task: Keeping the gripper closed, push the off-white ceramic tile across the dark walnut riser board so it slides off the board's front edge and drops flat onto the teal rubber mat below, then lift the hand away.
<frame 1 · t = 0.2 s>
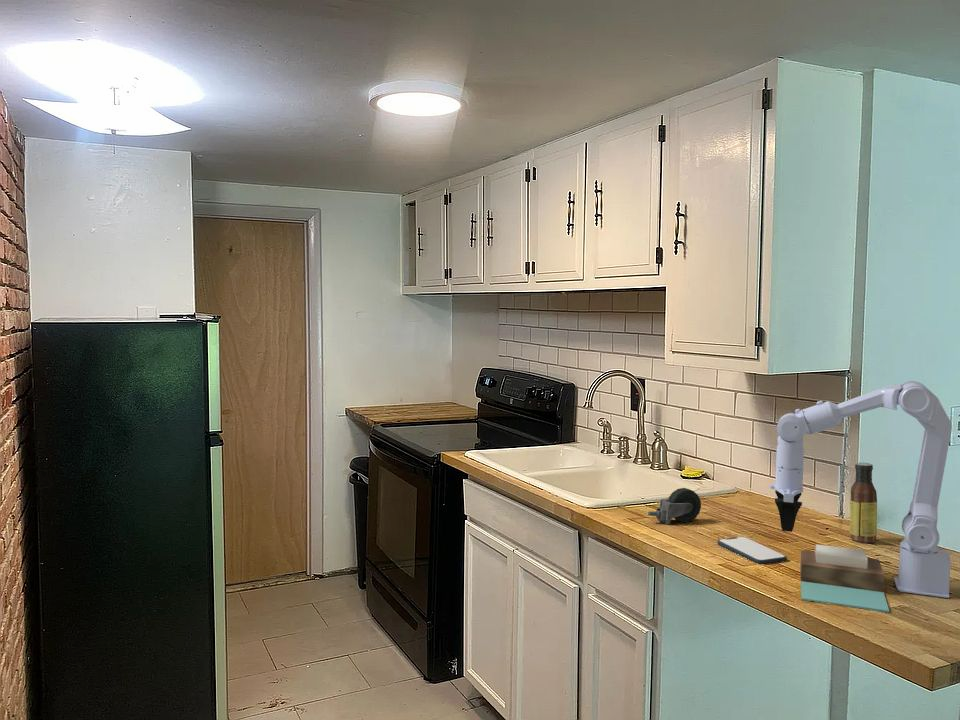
hand: (787, 526, 177), 10 cm above the counter, tool pointing down, fingers open, 7 cm apart
phone case: (750, 554, 190), on the counter
sauce bottle: (861, 541, 201), on the counter
mat: (842, 597, 162), on the counter
riser: (839, 579, 172), on the counter
caster wheel: (673, 522, 215), on the counter
tile: (840, 560, 173), point 4 cm above the counter, touching riser
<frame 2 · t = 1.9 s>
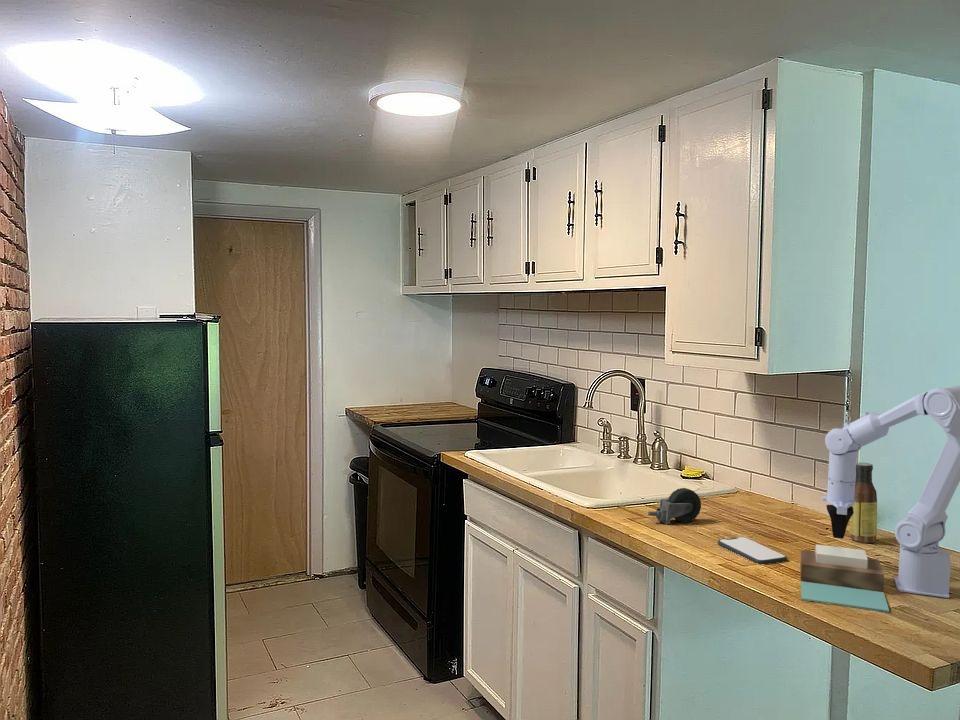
hand: (838, 537, 182), 6 cm above the counter, tool pointing down, fingers closed
nothing on the counter moved.
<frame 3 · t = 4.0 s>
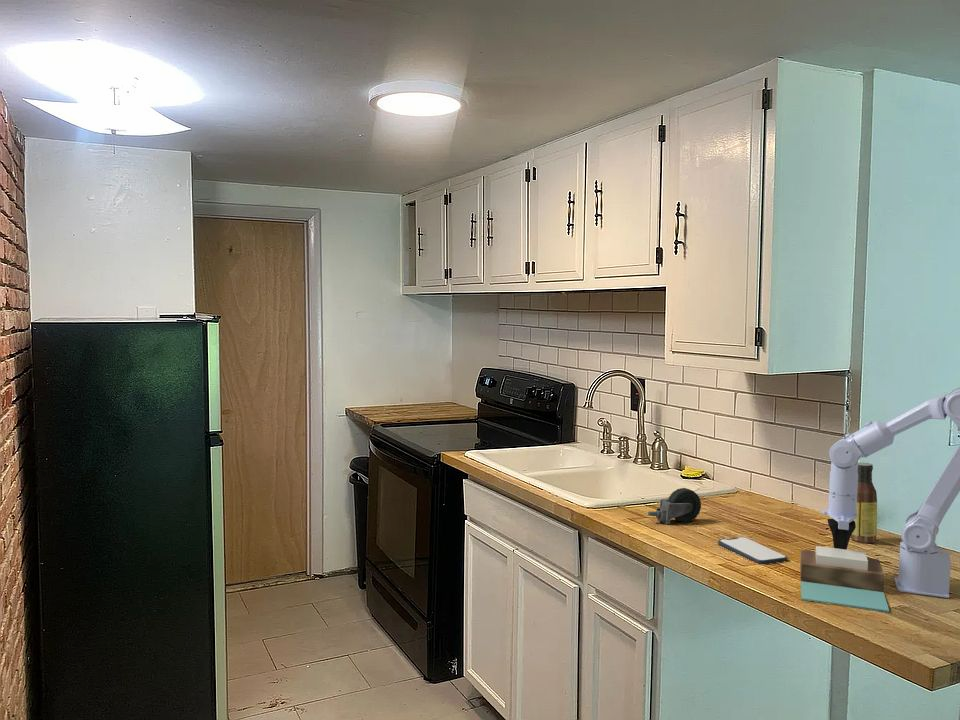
hand: (839, 552, 176), 5 cm above the counter, tool pointing down, fingers closed
tile: (840, 562, 172), point 4 cm above the counter
everything else where it was.
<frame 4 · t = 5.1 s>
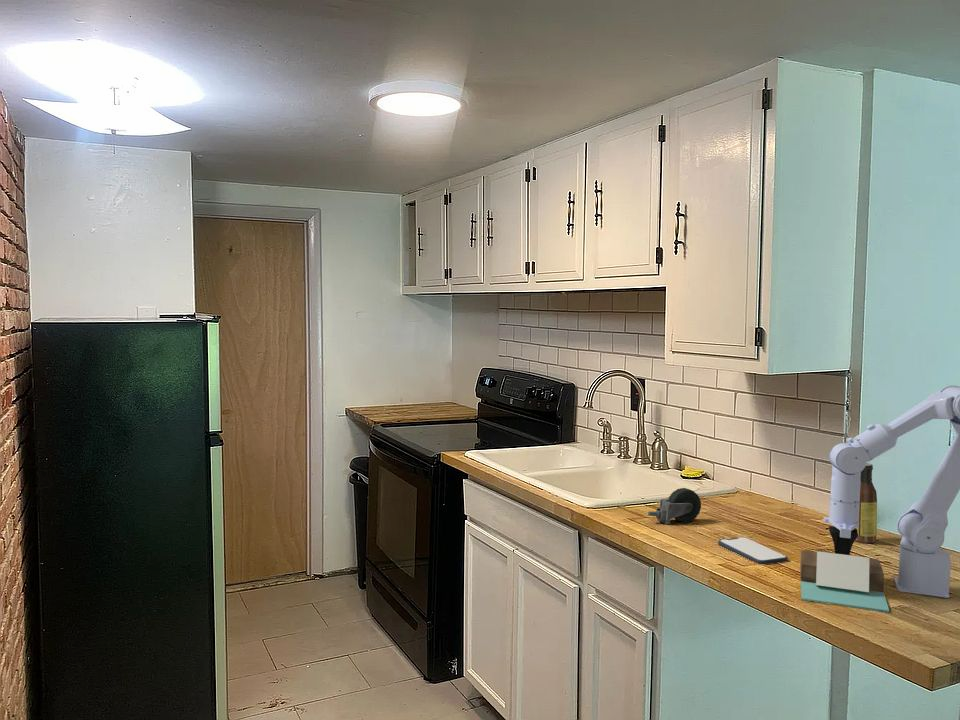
hand: (841, 561, 170), 5 cm above the counter, tool pointing down, fingers closed
tile: (842, 572, 166), point 4 cm above the counter, tilted 65°, touching mat
everything else where it was.
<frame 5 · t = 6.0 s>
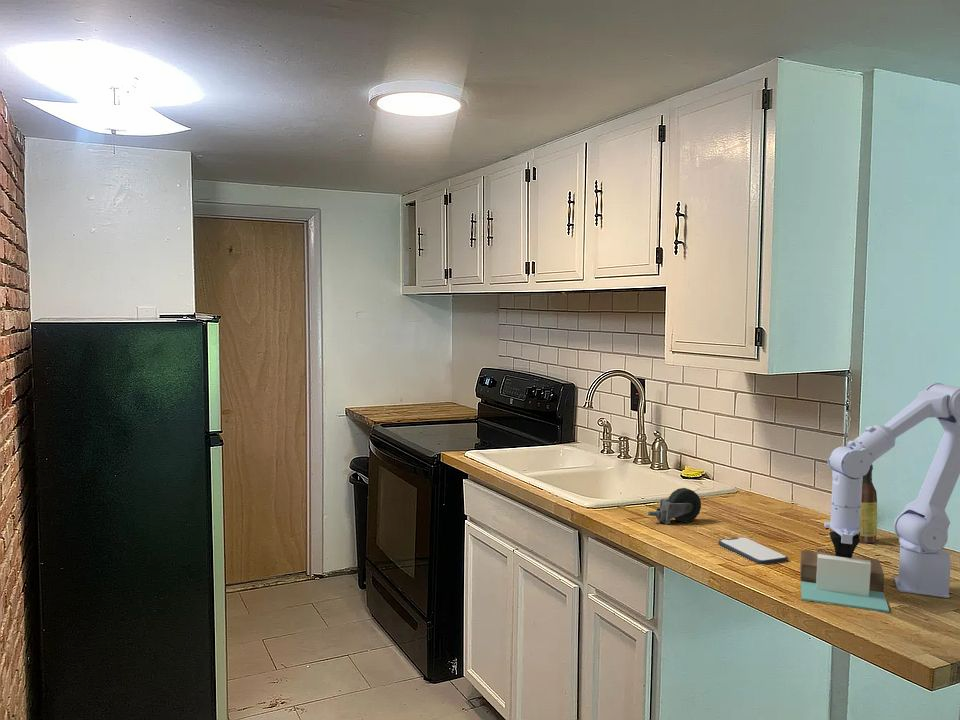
hand: (842, 567, 166), 5 cm above the counter, tool pointing down, fingers closed
tile: (842, 572, 165), point 4 cm above the counter, tilted 95°, touching gripper, mat
everything else where it was.
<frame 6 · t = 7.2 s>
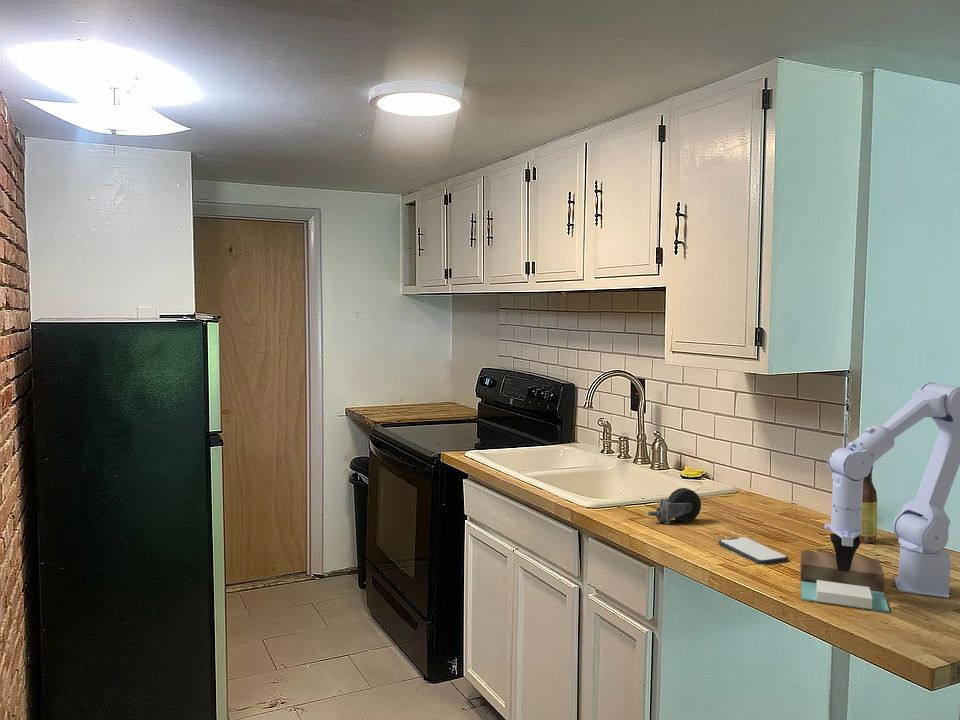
hand: (843, 570, 164), 5 cm above the counter, tool pointing down, fingers closed
tile: (843, 589, 160), point 2 cm above the counter, tilted 180°, touching mat
everything else where it was.
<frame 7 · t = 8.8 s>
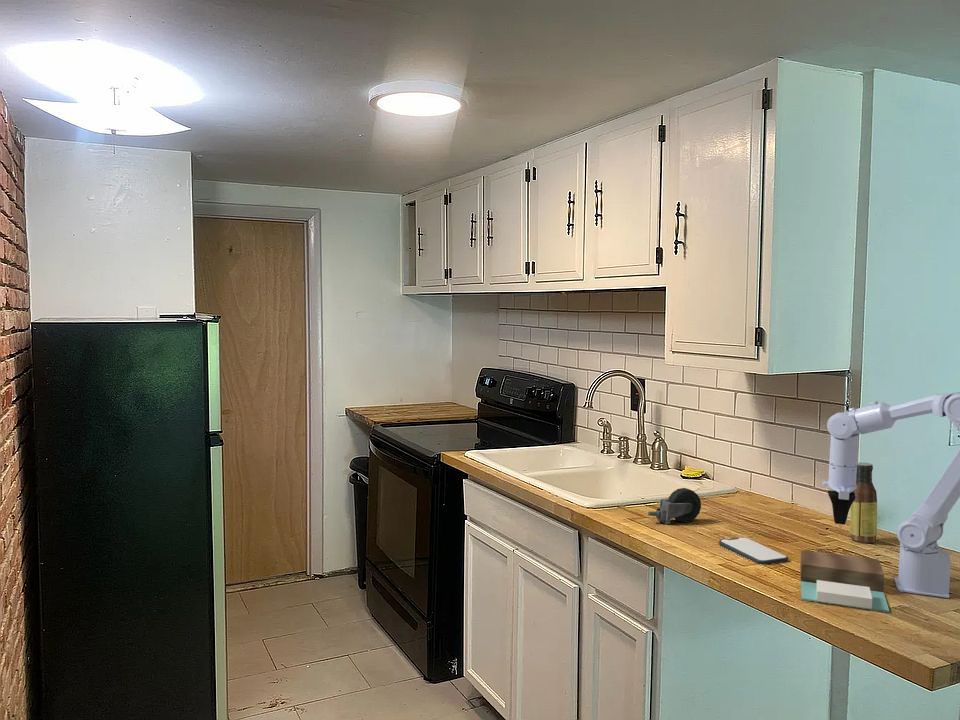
hand: (839, 523, 179), 10 cm above the counter, tool pointing down, fingers closed
nothing on the counter moved.
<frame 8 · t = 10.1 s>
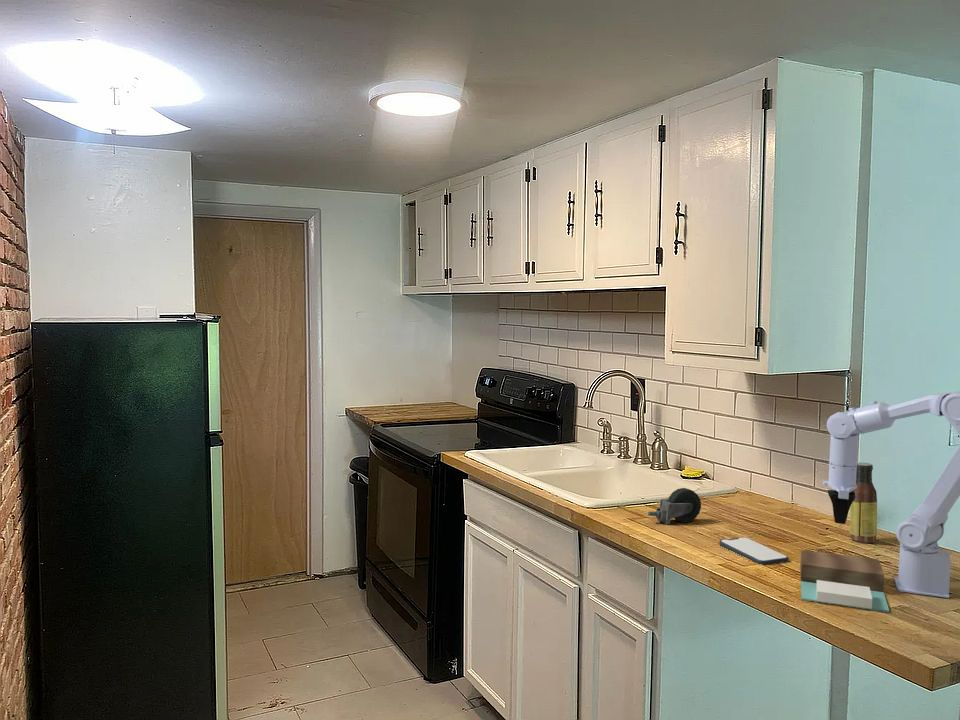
hand: (839, 522, 180), 10 cm above the counter, tool pointing down, fingers closed
nothing on the counter moved.
at the end: tile inside the target area (1.9 cm from its centre), point 2.4 cm above the counter; tile point 2.4 cm above the counter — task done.
